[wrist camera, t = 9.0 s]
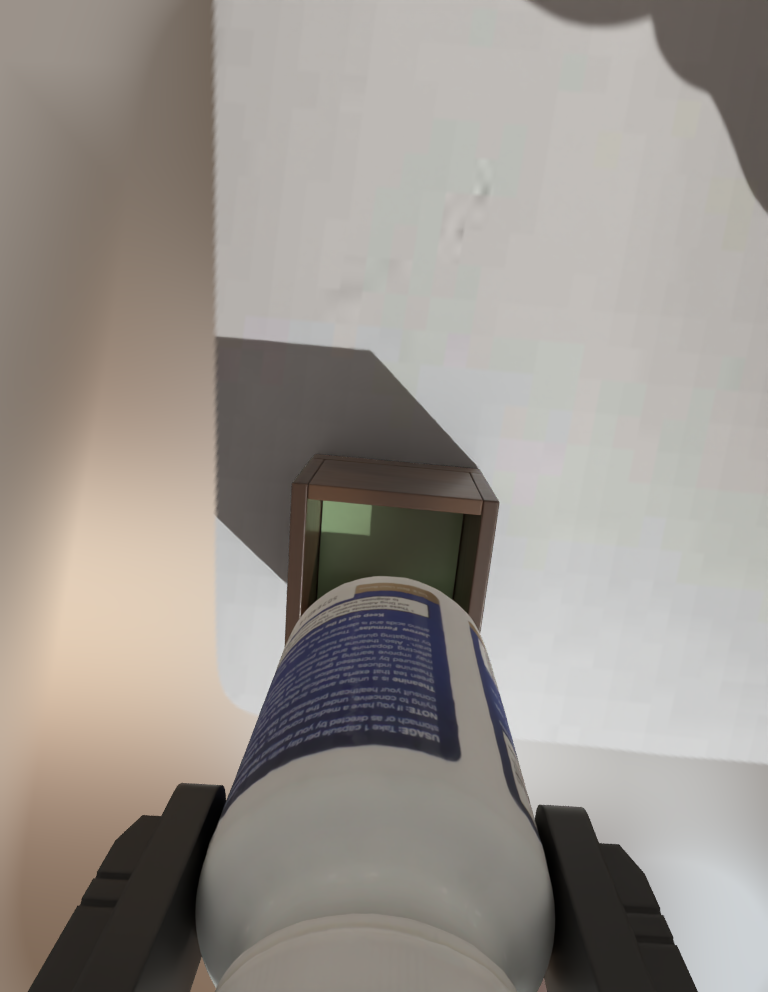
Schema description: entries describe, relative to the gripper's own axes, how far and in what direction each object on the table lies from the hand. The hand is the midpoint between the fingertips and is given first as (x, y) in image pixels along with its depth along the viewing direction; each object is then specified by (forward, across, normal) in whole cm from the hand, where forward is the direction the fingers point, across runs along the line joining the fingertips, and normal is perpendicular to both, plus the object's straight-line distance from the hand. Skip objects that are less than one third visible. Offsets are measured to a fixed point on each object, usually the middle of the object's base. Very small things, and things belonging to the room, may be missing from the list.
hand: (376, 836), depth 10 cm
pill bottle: (+6, 0, 0) cm, 6 cm away
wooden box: (+17, 0, +1) cm, 17 cm away
